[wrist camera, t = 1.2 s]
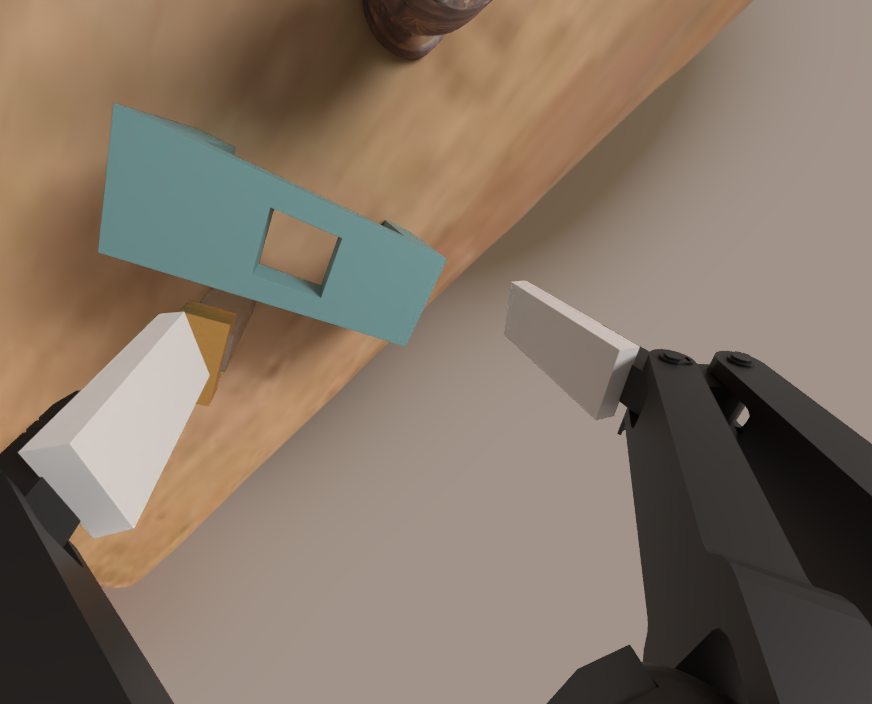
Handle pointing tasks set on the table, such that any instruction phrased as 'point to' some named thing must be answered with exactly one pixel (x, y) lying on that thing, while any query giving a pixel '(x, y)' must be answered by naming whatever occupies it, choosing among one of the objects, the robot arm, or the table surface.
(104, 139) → the table surface
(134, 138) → the teal slotted arch
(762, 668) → the robot arm
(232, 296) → the golden orange block
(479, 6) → the mortar and pestle
